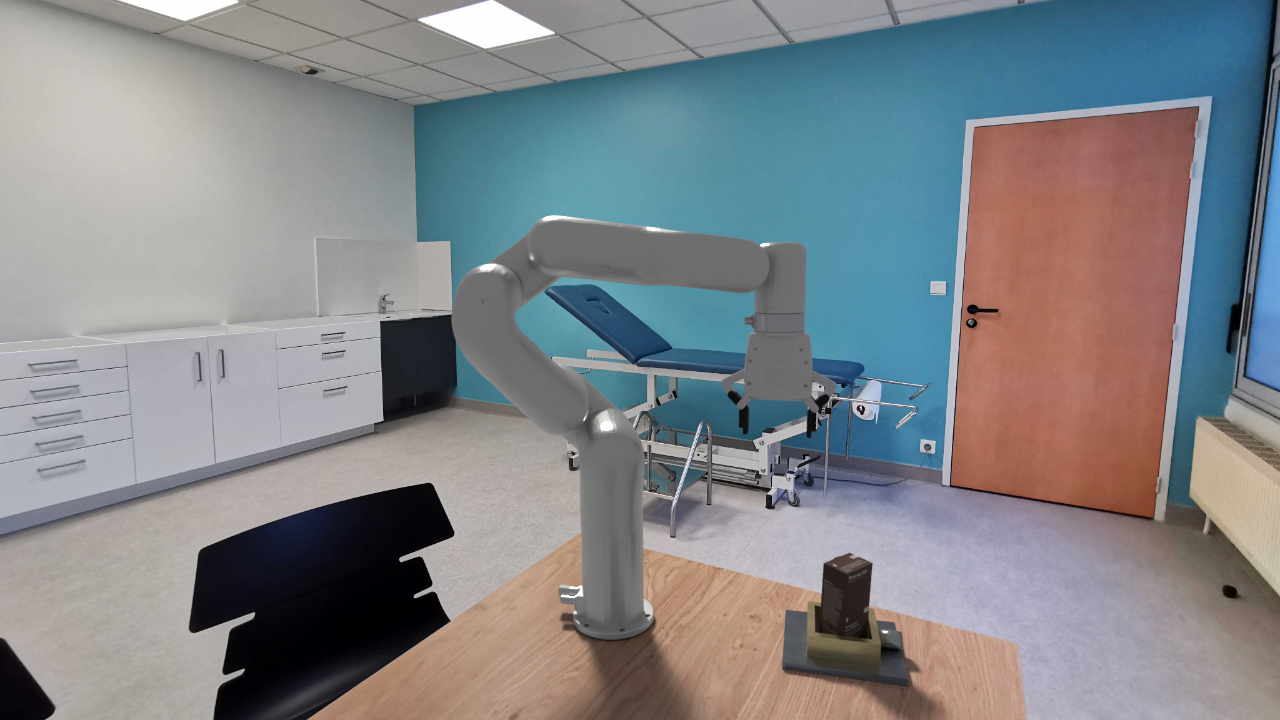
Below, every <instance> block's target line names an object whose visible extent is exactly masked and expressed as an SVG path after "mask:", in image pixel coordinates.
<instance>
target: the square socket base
mask: <svg viewBox="0 0 1280 720" xmlns="http://www.w3.org/2000/svg"><path fill="white" fill-rule="evenodd" d="M820 611H821V602H819V601H810V600H808V601H807V611H801V610H792V609H791V610H790V609H785V614H784V628H783V629H784V630H783V647H782V663H781V668H782V670H789V671H796V672H797V671H798V672H802V673H810V674H818V675H823V676H824V675H825V676H833V677H839V678H848V679H853V680H854V679H855V680H860V681H869V682H874V683H875V682H876V683H882V684H888V685H889V684H890V685H897V686H902V687H903V686H905V687H909V677H908V672H907V668H906V665H905V664H906V663H905V660H904V656H903V646H904V645H903V632H902V631H900V630H897V627H896V623H895V622H894V621H885V620H879V619H878V620H877V615H876V613H875V608H871V607H869V616H868V630H867V639H864V638H856V637H848V636H840V635H832V634H823V633H819V626H820Z"/></svg>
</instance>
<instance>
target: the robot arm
mask: <svg viewBox="0 0 1280 720" xmlns="http://www.w3.org/2000/svg"><path fill="white" fill-rule="evenodd" d="M562 277H563V278H571V279H580V280H591V281H598V282H599V281H600V282H609V283H618V284H625V285H634V286H645V287H658V286H659V287H660V286H661V287H663V286H664V287H665V286H667V287H668V286H669V287H680V288H690V289H700V290H710V291H718V292H726V293H734V294H749V293H751V292H754V312H753V314H752V315H749V316H744V325H745V326H749V327H751V328H753V332H750V333H748V337H747V341H746V342H747V343H746V347H745V356H744V357H745V358H744V359H745V360H744V368H743V369H741V370H739V371H737V372H734V373H732V374H730V375H728V376H726V377H723V379H722V380H721V385H722V388H723V389H724V392H726V395H727V398H729V400H730V401H731V402H732V403H733V404H735V406H736V408H737V409H738V428H740V429H742V435H744V436H746V435H747V434H749V430H750V407H749V403H750V402H751V401H752V400H763V401H785V402H786V401H787V402H789V401H790V402H791V401H792V402H797V401H798V402H800V401H801V402H803V403H804V404H805V405H806V406H807V408H808V409H806V438H807V439H812V433H813V432H814V433H816V432H817V419H818V418H817V417H818V415H817V414H818V412H819V410H820V409H822V408H823V407H824V406H825V405H826V404H828V403H829V401H830V400H831V397H832V396H833V394H834V393H835V391H836V389H837V387H838V384H837V383H836V381H833V380H832V379H830V378H828V377H826V376H824V375H823V374H820V373H819V372H817V371H815V370H813V349H812V343H811V335H810V334H809V333H806V332H805V330H806V329H805V326H806V325H805V324H806V322H805V321H806V320H805V319H806V295H807V294H806V290H807V289H806V288H807V287H806V286H807V285H806V284H807V249H806V247H805V245H804V244H803V243H801V242H797V241H775V242H774V241H772V242H771V241H770V242H763V243H760V244H759V243H757V242H755V241H753V240H751V239H747V238H742V237H735V236H734V237H733V236H726V235H725V236H724V235H717V234H715V235H714V234H709V233H708V234H707V233H698V232H691V231H689V232H688V231H681V230H671V229H666V228H662V227H654V226H646V225H645V226H644V225H638V224H630V223H629V224H628V223H621V222H614V221H613V222H612V221H605V220H604V221H603V220H597V219H590V218H589V219H588V218H582V217H581V218H580V217H573V216H564V215H548V216H545V217H542V218H540V219H539V220H537V221H535V223H534V224H533V225H532V226H531V228H530V230H529V232H528V233H526V234H525V235H524V236H523V237H521V238H520V239H519V240H517V241H516V242H515V243H513V244H512V245H511V246H510V247H509V248H507V249H505V250H504V251H503V252H502V253H500V254H498V255H497V256H496V257H495V258H492V259H491V261H489V262H488V263H485V264H482V265H478V266H476V267H474V268H472V269H470V270H469V271H468V272H466V273H465V275H464V276H463V277H462V278H461V281H460V282H459V284H458V286H457V288H456V290H455V291H456V292H455V294H454V297H453V303H452V308H451V327H452V333H453V335H454V339H455V342H456V344H457V346H458V348H459V350H460V352H461V354H462V355H463V357H464V358H465V359H466V360H467V362H468V363H469V364H470V365H471V366H472V367H473V368H474V369H475V370H476V371H477V373H479V374H480V375H481V376H483V377H484V378H485V379H486V380H487V381H488V382H489V383H490V384H491V385H492V386H493V387H494V388H496V390H498V391H499V392H500V393H501V394H502V395H503V396H504V397H505V398H506V399H507V400H508V401H509V402H510V403H512V404H513V405H514V406H515V407H516V408H517V409H518V410H519V411H520V412H521V413H523V415H525V416H526V417H527V419H529V420H530V421H531V423H533V424H534V425H535V426H536V427H537V428H538V429H540V430H541V431H543V432H544V433H547V434H549V435H553V436H558V437H559V436H561V437H563V438H564V440H566V441H567V442H568V443H569V444H570V445H572V446H573V447H574V448H576V450H577V453H578V463H579V464H578V465H579V513H580V516H579V517H580V521H579V522H580V538H581V541H580V542H581V545H580V546H581V548H580V549H581V579H582V581H581V584H579V585H578V586H575V585H571V584H570V585H569V584H562V583H561V584H560V585H559V587H558V592H557V593H558V597H560V598H559V603H560V604H561V605H573V607H574V609H573V611H572V622H573V625H574V626H575V627H576V629H577V630H578V632H581V633H582V634H584V635H585V636H589V637H591V638H594V639H597V640H598V639H599V640H606V641H607V640H608V641H609V640H610V641H611V640H612V641H616V640H623V639H629V638H632V637H635V636H638V635H639V634H642V633H643V632H645V631H646V630H648V629H649V628H650V626H652V623H653V622H654V619H655V618H654V617H655V611H654V608H653V605H652V604H651V603H650V601H649V600H647V599H645V597H644V595H645V593H644V591H645V590H644V587H645V585H644V583H645V581H644V580H645V579H644V576H645V575H644V573H645V572H644V571H645V570H644V506H643V504H644V502H643V501H644V499H643V497H644V482H645V470H646V467H645V466H646V459H645V458H646V457H645V456H646V455H645V451H644V445H643V442H642V439H641V438H640V436H639V434H638V432H637V431H636V429H635V427H634V425H633V424H632V422H631V421H630V419H629V418H628V417H627V415H626V414H625V413H623V412H622V411H621V410H620V409H619V408H618V407H617V406H616V405H615V404H614V403H613V402H612V401H611V400H610V399H609V398H607V397H606V396H605V395H604V394H603V393H602V392H601V391H600V390H598V388H596V387H595V385H593V383H591V382H590V381H589V380H588V379H586V377H584V376H583V375H582V374H581V373H580V372H579V371H577V370H576V369H574V368H573V367H571V366H569V365H566V364H564V363H563V364H562V363H557V362H555V361H554V360H553V359H552V358H551V357H549V356H548V355H547V354H546V353H545V352H544V351H543V350H542V349H541V348H540V347H539V345H537V344H536V343H535V342H534V341H533V340H532V339H531V338H529V337H527V335H526V334H525V333H523V331H522V330H521V329H520V327H519V326H518V324H517V322H516V318H515V317H516V316H515V315H516V313H517V312H518V311H519V310H520V309H522V308H523V307H524V306H525V305H527V304H528V303H529V302H531V301H532V300H534V298H536V297H537V296H539V295H540V294H541V293H542V292H544V291H545V290H547V289H548V288H549V287H551V286H552V285H554V284H555V283H556V282H557V281H559V280H560V279H561V278H562ZM742 380H743V392H744V394H743V395H740V394H739V393H738V392H737V391H736V390H735V387H734V385H733V384H735V383H737V382H739V381H742ZM813 382H815V383H817V384H819V385H820V386H822V387H824V390H823V392H822V393H821V394H820V395H819V396H818V397H817V398H816V399H815V398H814V396H813V395H812V393H813Z"/></svg>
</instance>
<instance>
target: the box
mask: <svg viewBox="0 0 1280 720" xmlns="http://www.w3.org/2000/svg"><path fill="white" fill-rule="evenodd" d="M873 564H874V563H873V562H872V561H870V560H867V559H865V558H863V557H860V556H858V555H856V554H853V553H851V552H848V553H845V554H843V555H838V556H836V557H834V558H832V559H831V560H828V561H825V562H823V565H822V567H823V568H822V581H821V596H820V603H821V611H820V626H819V633H823V634H832V635H840V636H848V637H856V638H864V639H867V630H868V616H869V608H870V603H871V590H872V589H871V588H872V575H873Z"/></svg>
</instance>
